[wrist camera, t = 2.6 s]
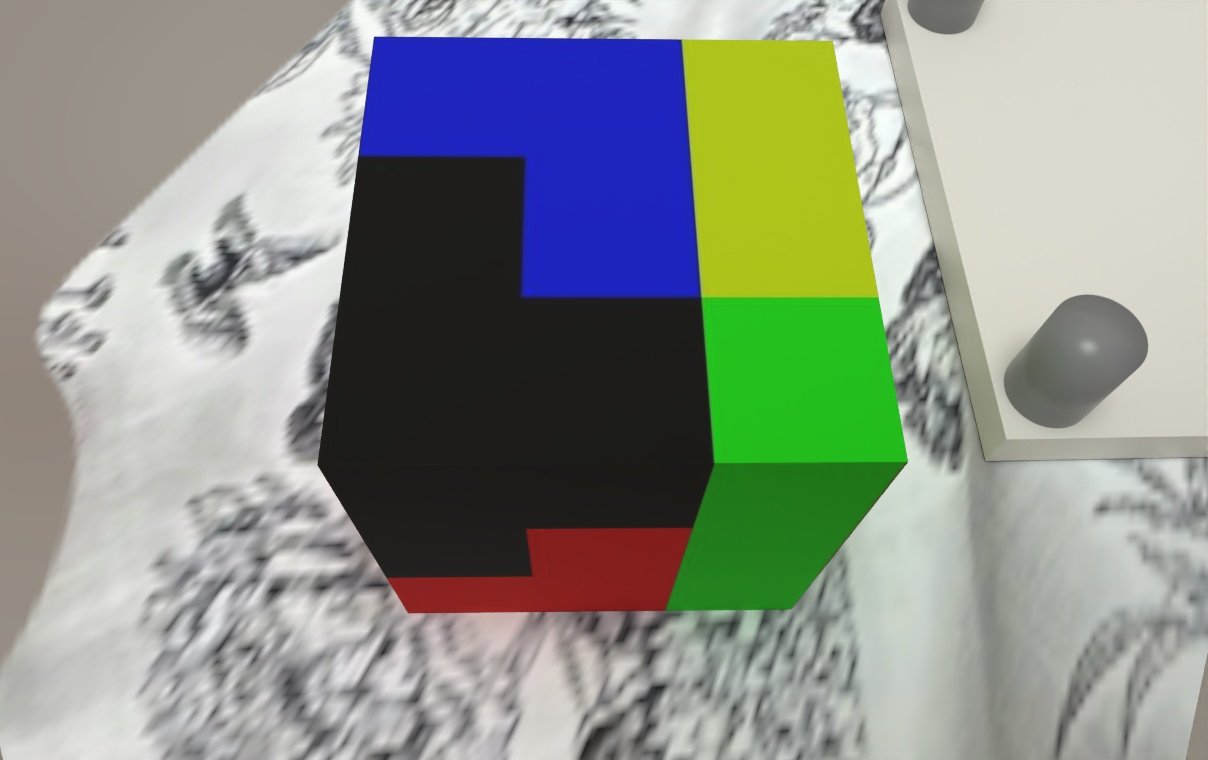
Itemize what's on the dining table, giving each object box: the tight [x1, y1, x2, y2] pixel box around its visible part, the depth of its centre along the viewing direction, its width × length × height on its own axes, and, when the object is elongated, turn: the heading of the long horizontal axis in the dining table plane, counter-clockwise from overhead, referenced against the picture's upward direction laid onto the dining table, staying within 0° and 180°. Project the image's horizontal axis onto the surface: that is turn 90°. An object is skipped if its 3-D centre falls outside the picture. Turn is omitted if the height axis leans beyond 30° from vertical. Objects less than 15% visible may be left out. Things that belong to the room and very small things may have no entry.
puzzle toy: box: [318, 37, 908, 613], centre depth 23 cm, size 10×10×10 cm
